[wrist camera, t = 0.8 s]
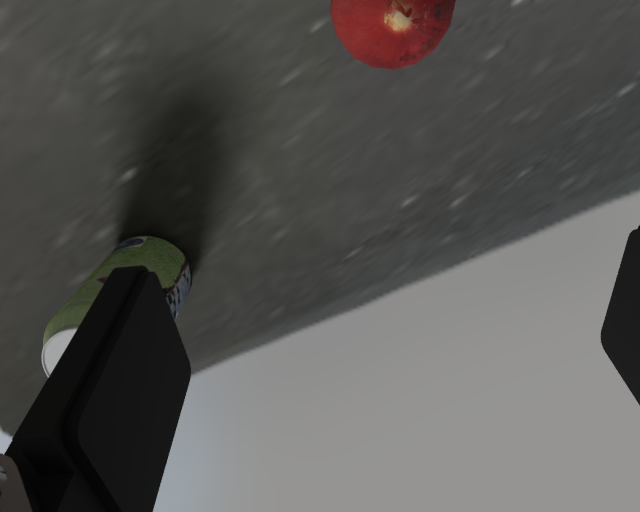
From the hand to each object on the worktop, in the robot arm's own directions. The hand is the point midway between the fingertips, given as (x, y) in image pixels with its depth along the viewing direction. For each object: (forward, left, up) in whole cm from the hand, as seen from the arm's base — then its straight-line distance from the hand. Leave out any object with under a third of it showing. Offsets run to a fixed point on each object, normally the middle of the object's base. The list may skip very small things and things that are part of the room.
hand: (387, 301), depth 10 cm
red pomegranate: (-3, +2, -22) cm, 23 cm away
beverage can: (+12, -16, -22) cm, 30 cm away
